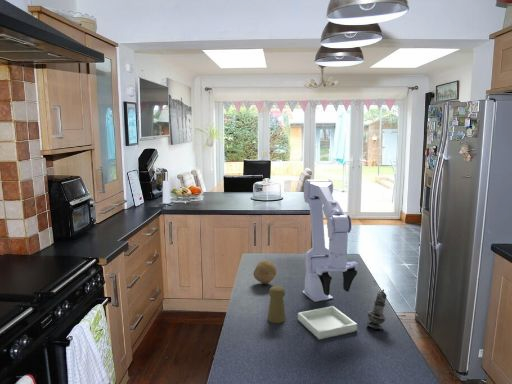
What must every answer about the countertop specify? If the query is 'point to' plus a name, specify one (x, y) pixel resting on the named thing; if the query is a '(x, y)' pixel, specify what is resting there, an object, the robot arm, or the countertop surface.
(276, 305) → the cork
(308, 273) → the robot arm
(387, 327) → the countertop surface
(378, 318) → the gray chess piece
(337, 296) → the countertop surface
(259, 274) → the natural sponge
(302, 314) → the tray
